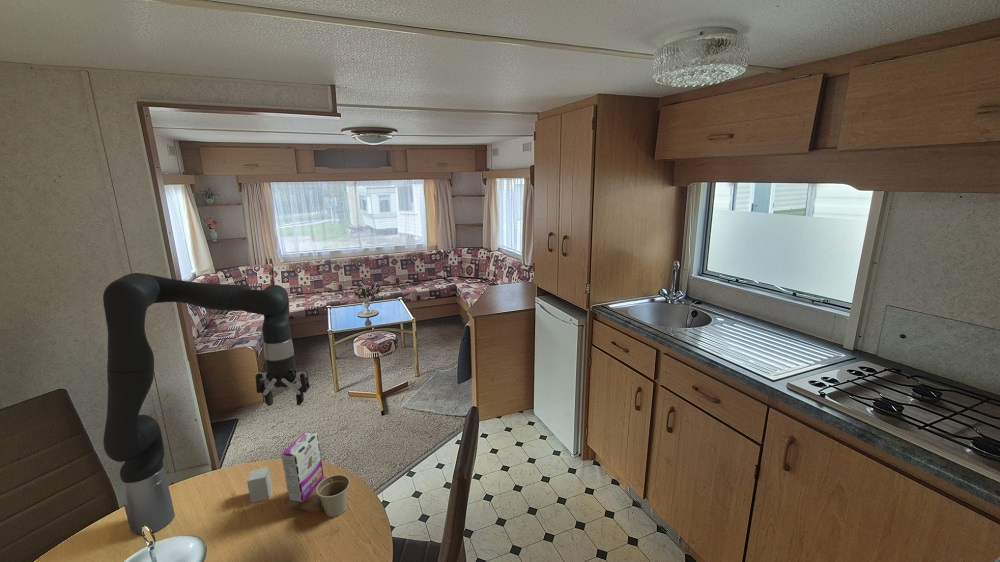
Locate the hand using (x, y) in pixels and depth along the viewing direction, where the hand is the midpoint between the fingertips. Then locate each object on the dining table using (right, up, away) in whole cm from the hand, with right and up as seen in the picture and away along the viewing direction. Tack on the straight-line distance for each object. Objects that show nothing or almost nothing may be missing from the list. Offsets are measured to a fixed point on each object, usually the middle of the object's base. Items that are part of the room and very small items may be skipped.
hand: (285, 404), depth 124 cm
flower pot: (+14, -33, +2) cm, 36 cm away
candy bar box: (+4, -28, +5) cm, 29 cm away
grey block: (-12, -31, +8) cm, 34 cm away
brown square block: (+4, -32, +6) cm, 33 cm away
